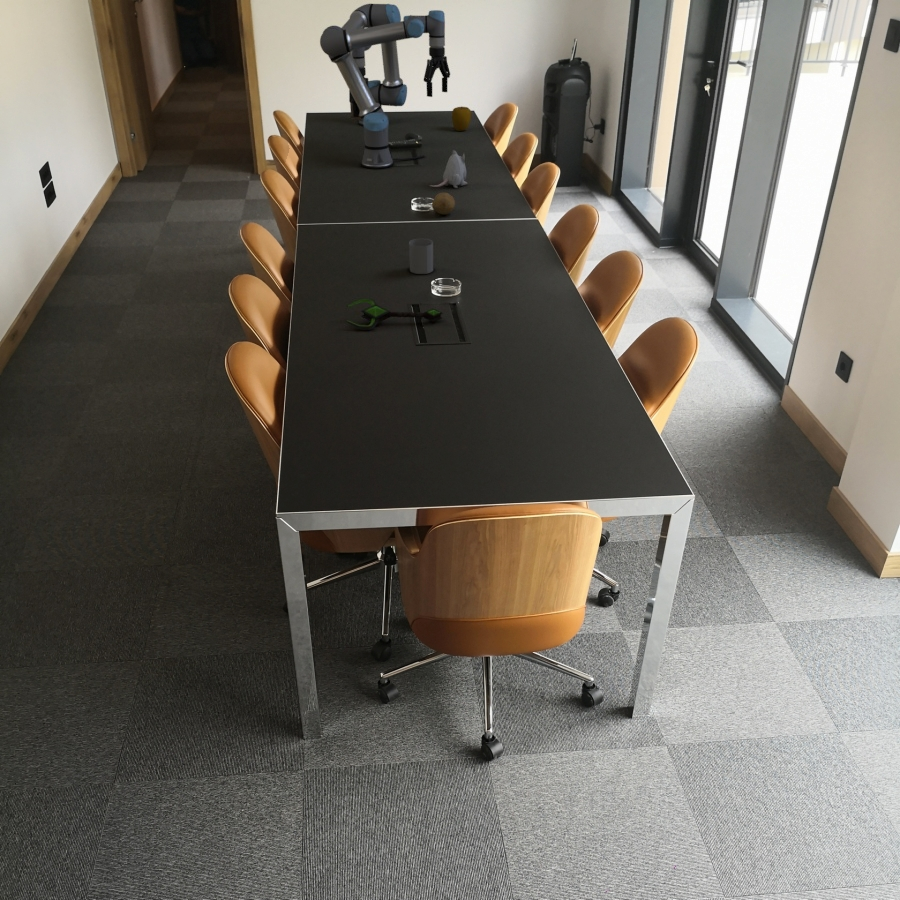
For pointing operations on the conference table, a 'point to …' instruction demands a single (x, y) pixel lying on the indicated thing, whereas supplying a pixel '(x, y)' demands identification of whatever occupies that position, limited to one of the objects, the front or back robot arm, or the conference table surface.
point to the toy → (454, 171)
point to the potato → (443, 203)
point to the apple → (461, 118)
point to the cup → (421, 256)
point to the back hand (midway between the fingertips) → (360, 115)
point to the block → (353, 115)
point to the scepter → (389, 314)
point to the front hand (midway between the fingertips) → (437, 94)
